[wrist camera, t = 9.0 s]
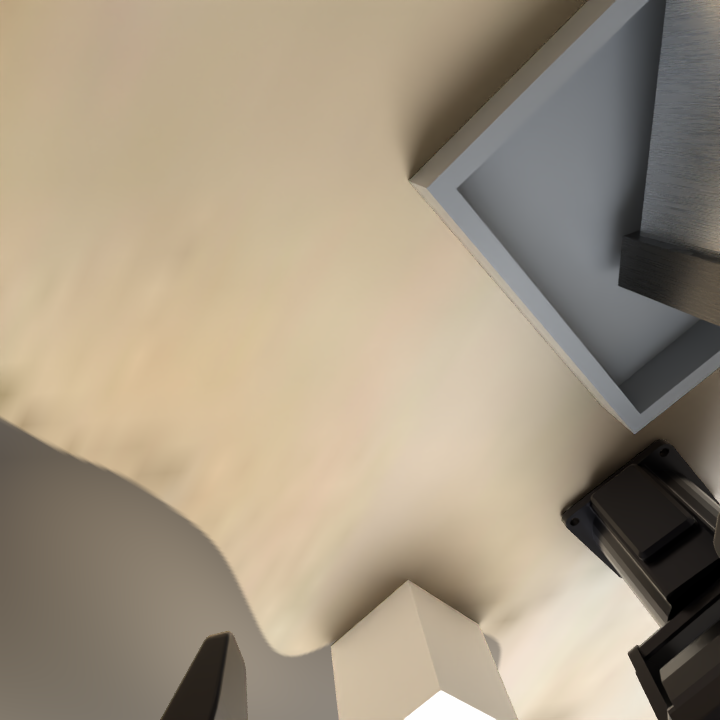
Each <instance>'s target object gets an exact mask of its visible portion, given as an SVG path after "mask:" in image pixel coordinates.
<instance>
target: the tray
mask: <svg viewBox="0 0 720 720" xmlns="http://www.w3.org/2000/svg"><path fill="white" fill-rule="evenodd" d="M666 1H667V0H588V1H587V2H586V3H585V4H584V5H583V6H582V7H581V8H580V9H579V10H578V11H577V12H576V13H575V14H574V15H573V16H572V17H571V18H570V19H569V20H568V21H567V22H566V23H565V24H564V25H563V26H562V27H561V28H560V29H559V30H558V31H557V32H556V33H555V34H554V35H553V36H552V37H551V38H550V39H549V40H548V41H547V42H546V43H545V44H544V45H543V46H542V47H541V48H540V49H539V50H538V51H537V52H536V53H535V54H534V55H533V56H532V57H531V58H530V59H529V60H528V61H527V62H526V63H525V64H524V65H523V66H522V67H521V68H520V69H519V70H518V71H517V72H516V73H515V74H514V75H513V76H512V77H511V78H510V79H509V80H508V81H507V82H506V83H505V84H504V85H503V86H502V87H501V88H500V89H499V90H498V91H497V92H496V93H495V94H494V95H493V96H492V97H491V98H490V99H489V100H488V101H487V102H486V103H485V104H484V105H483V106H482V107H481V108H480V109H479V110H478V111H477V112H476V113H475V114H474V115H473V117H472V118H471V119H470V120H469V121H468V122H467V123H466V124H465V125H464V126H463V127H462V128H461V129H460V130H459V131H458V132H457V133H456V134H455V135H454V136H453V137H452V138H451V139H450V140H449V141H448V142H447V143H446V144H445V145H444V146H443V147H442V148H441V149H440V150H439V151H438V152H437V153H436V154H435V155H434V156H433V157H432V158H431V159H430V160H429V161H428V162H427V163H426V164H425V165H424V166H423V167H422V168H421V169H420V170H419V171H418V172H417V173H416V174H415V175H414V176H413V177H412V178H411V179H410V180H409V182H410V183H411V185H412V186H413V187H414V188H415V189H416V190H417V192H418V193H419V194H420V195H421V196H422V197H423V199H424V200H425V201H426V202H427V203H428V204H429V206H430V207H431V208H432V209H433V210H434V211H435V213H436V214H437V215H438V216H439V217H440V218H441V220H442V221H443V222H444V223H445V224H446V225H447V227H448V228H449V229H450V230H451V231H452V232H453V234H454V235H455V236H456V237H457V238H458V239H459V240H460V242H461V243H462V244H463V245H464V246H465V247H466V249H467V250H468V251H469V252H470V253H471V254H472V256H473V257H474V258H475V259H476V260H477V261H478V263H479V264H480V265H481V266H482V267H483V268H484V270H485V271H486V272H487V273H488V274H489V275H490V277H491V278H492V279H493V280H494V281H495V282H496V284H497V285H498V286H499V287H500V288H501V289H502V291H503V292H504V293H505V294H506V295H507V296H508V298H509V299H510V300H511V301H512V302H513V303H514V305H515V306H516V307H517V308H518V309H519V310H520V312H521V313H522V314H523V315H524V316H525V317H526V319H527V320H528V321H529V322H530V323H531V324H532V326H533V327H534V328H535V329H536V330H537V331H538V333H539V334H540V335H541V336H542V337H543V338H544V340H545V341H546V342H547V343H548V344H549V345H550V347H551V348H552V349H553V350H554V351H555V352H556V354H557V355H558V356H559V357H560V358H561V359H562V361H563V362H564V363H565V364H566V365H567V366H568V368H569V369H570V370H571V371H572V372H573V373H574V374H575V376H576V377H577V378H578V379H579V380H580V381H581V383H582V384H583V385H584V386H585V387H586V388H587V390H588V391H589V392H590V393H591V394H592V395H593V397H594V398H595V399H596V400H597V401H598V402H599V404H600V405H601V406H602V407H603V408H605V409H606V410H607V411H608V412H609V413H610V414H611V415H613V416H614V417H615V418H616V419H617V420H618V421H620V422H621V423H622V424H623V425H624V426H625V427H627V428H628V429H629V430H630V431H631V432H632V433H634V434H636V433H637V432H638V431H640V430H641V429H642V428H643V427H645V426H646V425H647V424H649V423H650V422H651V421H652V420H654V419H655V418H656V417H657V416H659V415H660V414H661V413H662V412H664V411H665V410H666V409H667V408H669V407H670V406H671V405H672V404H674V403H675V402H676V401H678V400H679V399H680V398H681V397H683V396H684V395H685V394H686V393H688V392H689V391H690V390H691V389H693V388H694V387H695V386H696V385H698V384H699V383H700V382H702V381H703V380H704V379H705V378H707V377H708V376H709V375H710V374H712V373H713V372H714V371H715V370H717V369H718V368H719V367H720V326H717V325H715V324H712V323H710V322H707V321H705V320H702V319H700V318H697V317H695V316H692V315H690V314H687V313H685V312H682V311H680V310H677V309H675V308H672V307H670V306H667V305H665V304H662V303H660V302H657V301H655V300H652V299H650V298H647V297H645V296H642V295H640V294H637V293H635V292H632V291H630V290H627V289H625V288H622V287H620V286H618V278H619V268H620V258H621V247H622V237H623V236H624V235H627V234H630V233H633V232H636V231H639V230H641V221H642V212H643V204H644V195H645V186H646V177H647V168H648V159H649V151H650V142H651V133H652V124H653V115H654V107H655V98H656V89H657V80H658V71H659V62H660V54H661V45H662V36H663V27H664V18H665V9H666Z"/></svg>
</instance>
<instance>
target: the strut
mask: <svg viewBox="0 0 720 720" xmlns="http://www.w3.org/2000/svg"><path fill="white" fill-rule="evenodd" d="M618 286H620V287H622V288H625V289H627V290H630V291H632V292H635V293H637V294H640V295H642V296H645V297H647V298H650V299H652V300H655V301H657V302H660V303H662V304H665V305H667V306H670V307H672V308H675V309H677V310H680V311H682V312H685V313H687V314H690V315H692V316H695V317H697V318H700V319H702V320H705V321H707V322H710V323H712V324H715V325H717V326H720V0H667V1H666V9H665V18H664V27H663V36H662V45H661V54H660V62H659V71H658V80H657V89H656V98H655V107H654V115H653V124H652V133H651V142H650V151H649V159H648V168H647V177H646V186H645V195H644V204H643V212H642V221H641V230H639V231H636V232H633V233H630V234H627V235H624V236H623V237H622V247H621V258H620V268H619V278H618Z"/></svg>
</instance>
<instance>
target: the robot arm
mask: <svg viewBox="0 0 720 720" xmlns="http://www.w3.org/2000/svg"><path fill="white" fill-rule="evenodd" d="M661 450H662V451H661ZM562 522H563V523H564V524H565V526H566V527H567V528H568V529H569V530H570V531H571V532H572V533H573V534H574V535H575V536H576V537H577V538H578V539H579V540H580V541H582V542H583V543H584V544H585V545H586V546H587V547H588V548H589V549H590V550H591V551H592V552H593V553H594V554H595V555H597V556H598V557H599V558H600V559H601V560H602V561H603V562H604V563H605V564H606V565H607V566H608V567H609V568H610V569H612V570H613V571H614V572H615V573H616V574H617V575H618V576H619V577H621V578H623V579H624V581H625V582H626V583H627V584H628V586H629V587H630V588H631V590H632V591H633V592H634V594H635V595H636V596H637V598H638V599H639V600H640V601H641V603H642V604H643V605H644V607H645V608H646V609H647V611H648V612H649V613H650V614H651V616H652V617H653V618H654V620H655V621H656V622H657V624H658V625H659V626H660V629H659V630H657V631H656V632H655V633H654V634H653V635H652V636H650V637H649V638H648V639H647V640H646V641H645V642H643V643H642V644H641V645H640V646H638V645H636V646H635V647H634V648H633V649H631V650H630V651H629V652H628V656H629V658H630V660H631V662H632V664H633V666H634V668H635V670H636V675H637V677H638V679H639V681H640V683H641V685H642V688H643V690H644V692H645V694H646V696H647V698H648V700H649V702H650V704H651V706H652V708H653V710H654V712H655V715H656V717H657V719H658V720H720V504H719V503H718V501H717V500H716V499H715V498H714V496H713V495H712V494H711V493H710V491H709V490H708V489H707V488H706V486H705V485H704V484H703V483H702V481H701V480H700V479H699V478H698V477H697V475H696V474H695V473H694V472H693V470H692V469H691V468H690V467H689V465H688V464H687V463H686V462H685V460H684V459H683V458H682V457H681V455H680V454H679V453H678V452H677V451H676V449H675V448H674V447H673V446H672V445H671V444H670V443H669V442H667V441H666V440H663V439H661V440H657V441H656V442H654V443H653V444H651V445H650V446H649V447H648V448H646V449H645V450H644V451H642V452H641V453H640V454H639V455H637V456H636V457H635V458H634V459H632V460H631V461H630V462H628V463H627V464H626V465H625V466H623V467H622V468H621V469H619V470H618V471H617V472H616V473H614V474H613V475H612V476H611V477H609V478H608V479H607V480H605V481H604V482H603V483H602V484H600V485H599V486H598V487H596V488H595V489H594V490H593V491H591V492H590V493H589V494H588V495H586V496H585V497H584V498H582V499H581V500H580V501H579V502H577V503H576V504H575V505H573V506H572V507H571V508H570V509H568V510H567V511H566V512H565V513H564V514H563V516H562ZM160 720H248V713H247V686H246V669H245V663H244V660H243V657H242V655H241V652H240V650H239V647H238V645H237V643H236V640H235V637H234V636H233V634H232V633H231V632H230V631H225V632H221V633H217V634H213V635H210V636H208V637H207V638H206V639H205V640H204V642H203V644H202V646H201V647H200V649H199V651H198V653H197V655H196V656H195V658H194V660H193V662H192V664H191V666H190V667H189V669H188V671H187V673H186V674H185V676H184V678H183V680H182V682H181V683H180V685H179V687H178V689H177V691H176V693H175V694H174V696H173V698H172V700H171V702H170V703H169V705H168V707H167V709H166V710H165V712H164V714H163V716H162V717H161V719H160Z"/></svg>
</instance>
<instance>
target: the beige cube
mask: <svg viewBox="0 0 720 720" xmlns="http://www.w3.org/2000/svg"><path fill="white" fill-rule="evenodd" d="M331 652H332V661H333V670H334V679H335V689H336V698H337V707H338V716H339V720H518V718H517V716H516V713H515V711H514V708H513V706H512V703H511V701H510V699H509V696H508V694H507V691H506V689H505V686H504V684H503V682H502V679H501V677H500V674H499V672H498V669H497V667H496V665H495V662H494V660H493V657H492V655H491V653H490V650H489V648H488V645H487V643H486V640H485V638H484V635H483V633H482V630H481V628H480V626H479V624H477V623H476V622H474V621H473V620H471V619H469V618H468V617H466V616H465V615H463V614H461V613H460V612H458V611H457V610H455V609H454V608H452V607H450V606H449V605H447V604H446V603H444V602H443V601H441V600H439V599H438V598H436V597H435V596H433V595H432V594H430V593H428V592H427V591H425V590H424V589H422V588H421V587H419V586H417V585H416V584H414V583H413V582H411V581H409V580H407V581H406V582H405V583H404V584H403V585H401V586H400V587H399V588H398V589H397V590H396V591H394V592H393V593H392V594H391V595H390V596H389V597H388V598H386V599H385V600H384V601H383V602H382V603H381V604H379V605H378V606H377V607H376V608H375V609H374V610H372V611H371V612H370V613H369V614H368V615H367V616H366V617H364V618H363V619H362V620H361V621H360V622H359V623H357V624H356V625H355V626H354V627H353V628H352V629H350V630H349V631H348V632H347V633H346V634H345V635H344V636H342V637H341V638H340V639H339V640H337V641H335V642H334V643H333V644H332V645H331Z"/></svg>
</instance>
